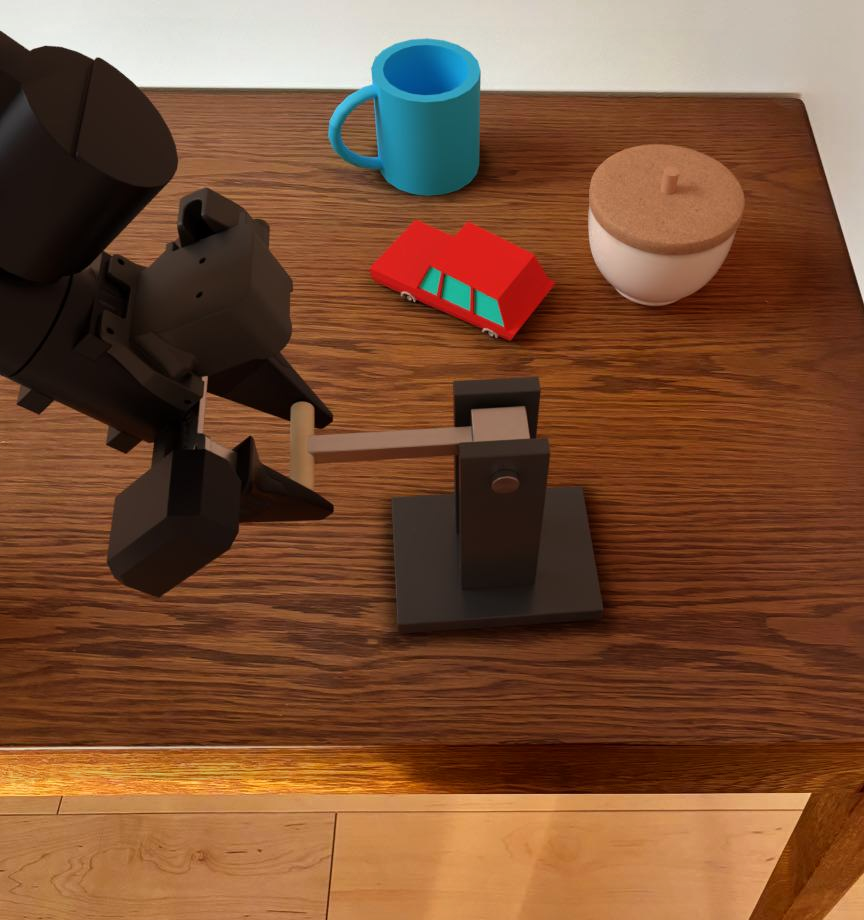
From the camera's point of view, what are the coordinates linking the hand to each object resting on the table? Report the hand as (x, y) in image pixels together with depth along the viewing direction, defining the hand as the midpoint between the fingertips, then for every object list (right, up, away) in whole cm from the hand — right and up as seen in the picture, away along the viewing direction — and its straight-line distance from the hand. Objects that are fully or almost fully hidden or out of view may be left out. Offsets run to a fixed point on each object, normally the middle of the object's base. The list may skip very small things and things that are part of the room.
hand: (328, 467), depth 52 cm
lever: (+4, 0, 0) cm, 4 cm away
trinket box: (+20, +16, +24) cm, 35 cm away
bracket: (+8, -5, +10) cm, 14 cm away
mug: (+1, +26, +30) cm, 40 cm away
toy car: (+6, +15, +22) cm, 27 cm away
